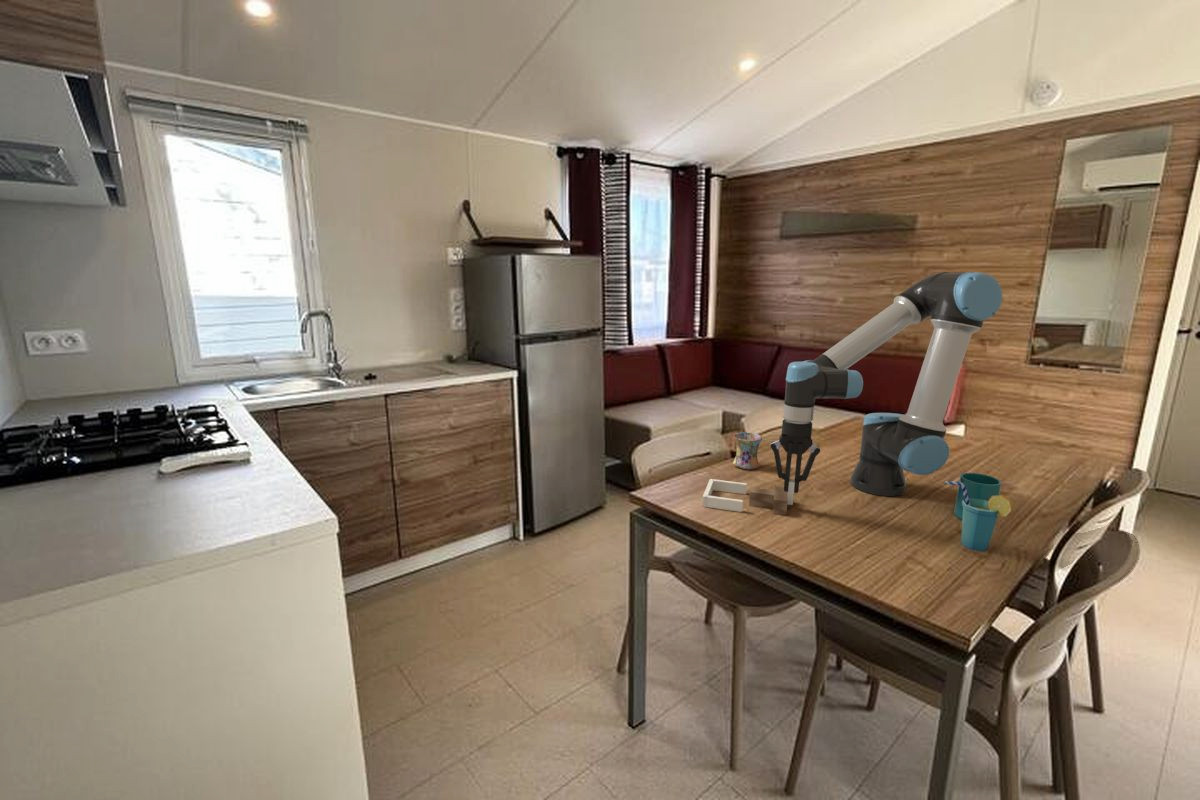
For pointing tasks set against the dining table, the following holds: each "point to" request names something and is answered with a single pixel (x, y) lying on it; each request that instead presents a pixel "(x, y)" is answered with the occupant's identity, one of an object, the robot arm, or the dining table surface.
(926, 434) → the robot arm
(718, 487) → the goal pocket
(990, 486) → the cup
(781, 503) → the t block
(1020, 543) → the dining table surface
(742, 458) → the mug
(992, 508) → the cup
